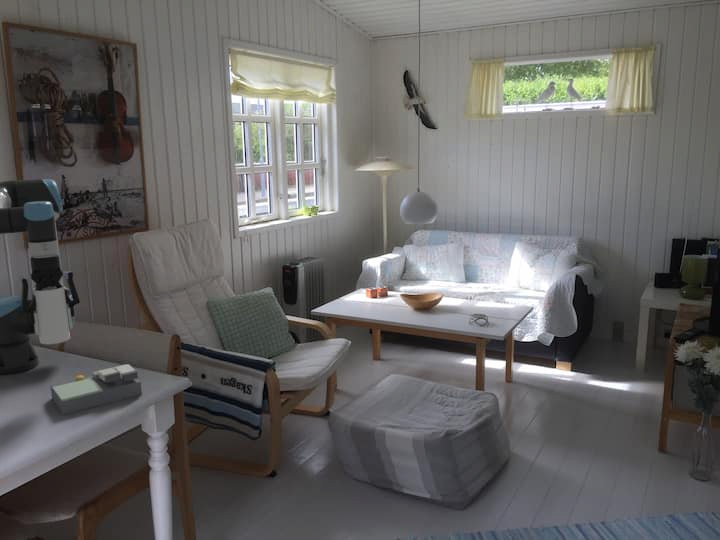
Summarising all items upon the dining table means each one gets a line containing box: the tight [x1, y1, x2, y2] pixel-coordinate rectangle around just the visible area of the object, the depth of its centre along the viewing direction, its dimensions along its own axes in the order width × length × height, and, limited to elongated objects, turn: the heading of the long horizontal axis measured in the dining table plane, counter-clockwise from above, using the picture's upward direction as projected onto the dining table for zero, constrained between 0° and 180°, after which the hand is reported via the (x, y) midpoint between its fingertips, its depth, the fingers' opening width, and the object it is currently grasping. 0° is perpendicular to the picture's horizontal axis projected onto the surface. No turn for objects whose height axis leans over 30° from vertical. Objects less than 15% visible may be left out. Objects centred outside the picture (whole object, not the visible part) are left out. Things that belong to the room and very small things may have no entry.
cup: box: [32, 285, 71, 345], centre depth 186 cm, size 8×8×16 cm
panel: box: [50, 363, 143, 415], centre depth 188 cm, size 14×22×7 cm, turn 128°
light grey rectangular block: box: [97, 367, 121, 383], centre depth 188 cm, size 2×4×8 cm
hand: (54, 330), depth 187 cm, fingers closed on cup, 8 cm apart
